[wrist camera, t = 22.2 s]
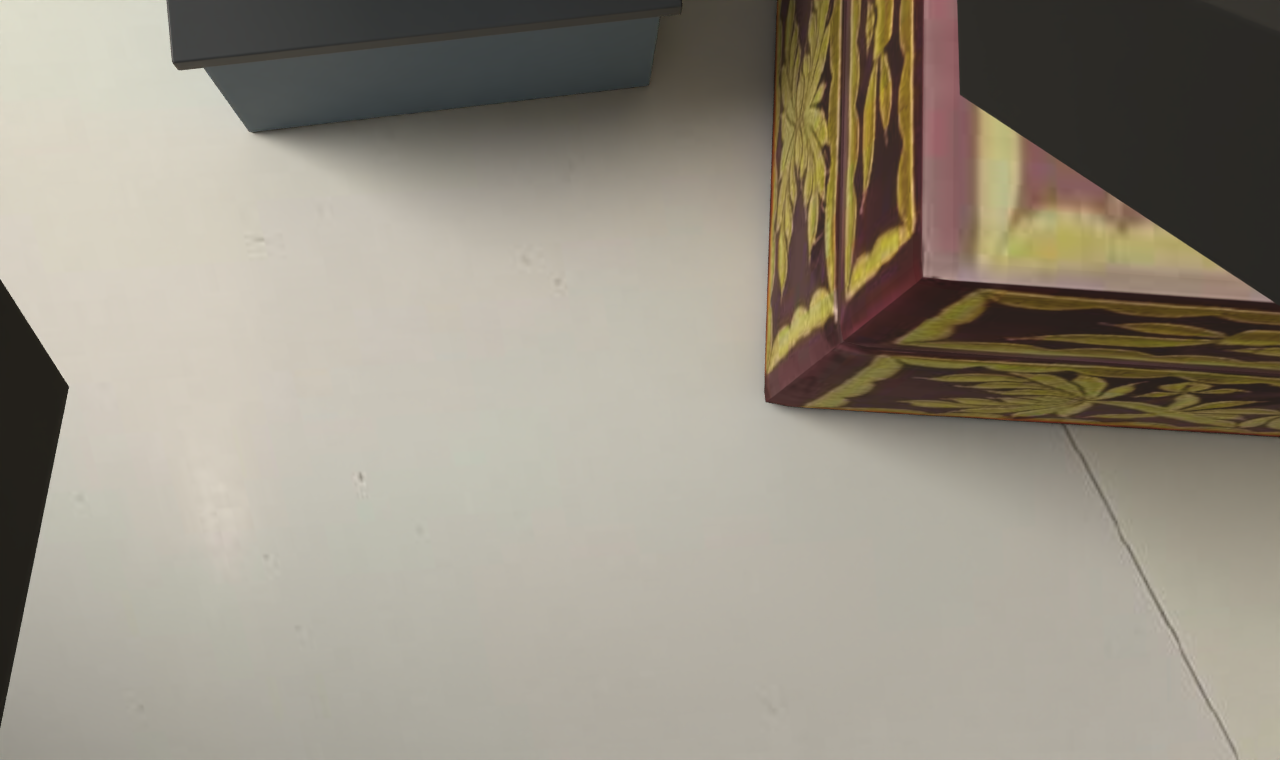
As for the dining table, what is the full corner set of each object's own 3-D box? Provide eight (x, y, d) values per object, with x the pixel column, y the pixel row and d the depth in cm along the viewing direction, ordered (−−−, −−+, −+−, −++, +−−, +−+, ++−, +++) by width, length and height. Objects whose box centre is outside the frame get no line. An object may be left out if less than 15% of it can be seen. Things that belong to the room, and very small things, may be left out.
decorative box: (1448, -5, 46) (1862, -279, 31) (1485, 451, 43) (1967, 384, 28) (776, -60, 45) (880, -376, 30) (761, 407, 41) (868, 312, 27)
